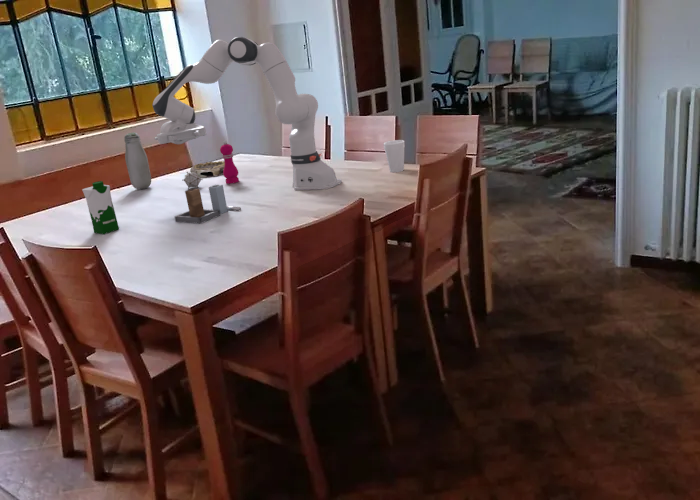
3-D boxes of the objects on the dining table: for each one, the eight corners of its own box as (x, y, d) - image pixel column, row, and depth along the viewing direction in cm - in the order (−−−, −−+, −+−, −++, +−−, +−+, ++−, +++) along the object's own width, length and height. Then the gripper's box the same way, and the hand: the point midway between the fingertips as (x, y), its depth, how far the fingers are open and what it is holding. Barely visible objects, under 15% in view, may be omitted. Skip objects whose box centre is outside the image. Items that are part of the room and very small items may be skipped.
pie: (181, 174, 370) (179, 165, 368) (230, 164, 380) (228, 155, 379) (192, 182, 346) (190, 172, 344) (244, 172, 356) (243, 162, 354)
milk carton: (103, 235, 268) (90, 185, 262) (90, 233, 274) (78, 184, 267) (122, 228, 274) (110, 179, 268) (110, 226, 280) (98, 178, 273)
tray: (220, 215, 275) (219, 210, 274) (200, 223, 267) (199, 218, 266) (195, 213, 283) (194, 208, 282) (175, 221, 274) (174, 216, 274)
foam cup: (384, 173, 308) (381, 145, 304) (389, 168, 316) (386, 140, 312) (405, 172, 305) (402, 143, 301) (409, 167, 314) (406, 139, 309)
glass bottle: (141, 191, 337) (128, 135, 328) (128, 190, 343) (115, 135, 334) (157, 186, 345) (145, 130, 336) (144, 185, 351) (132, 130, 342)
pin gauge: (241, 209, 279) (239, 206, 278) (239, 211, 278) (237, 208, 277) (223, 208, 285) (222, 205, 284) (221, 210, 284) (219, 207, 283)
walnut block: (204, 215, 275) (199, 188, 271) (197, 218, 272) (191, 191, 268) (197, 215, 277) (192, 188, 274) (190, 217, 274) (184, 191, 271)
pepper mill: (238, 182, 329) (231, 141, 322) (223, 184, 329) (215, 143, 323) (241, 179, 335) (233, 138, 329) (226, 181, 336) (218, 140, 329)
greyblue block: (227, 211, 280) (222, 184, 276) (220, 213, 277) (215, 187, 273) (220, 210, 282) (215, 184, 279) (213, 213, 279) (208, 186, 275)
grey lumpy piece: (199, 194, 333) (208, 175, 333) (192, 192, 325) (202, 173, 324) (183, 186, 334) (192, 167, 334) (176, 184, 326) (185, 165, 326)
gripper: (151, 130, 290) (159, 133, 278) (198, 122, 299) (208, 124, 287) (155, 145, 292) (163, 149, 280) (201, 136, 301) (211, 139, 289)
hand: (186, 136), depth 284 cm, fingers open, 8 cm apart
